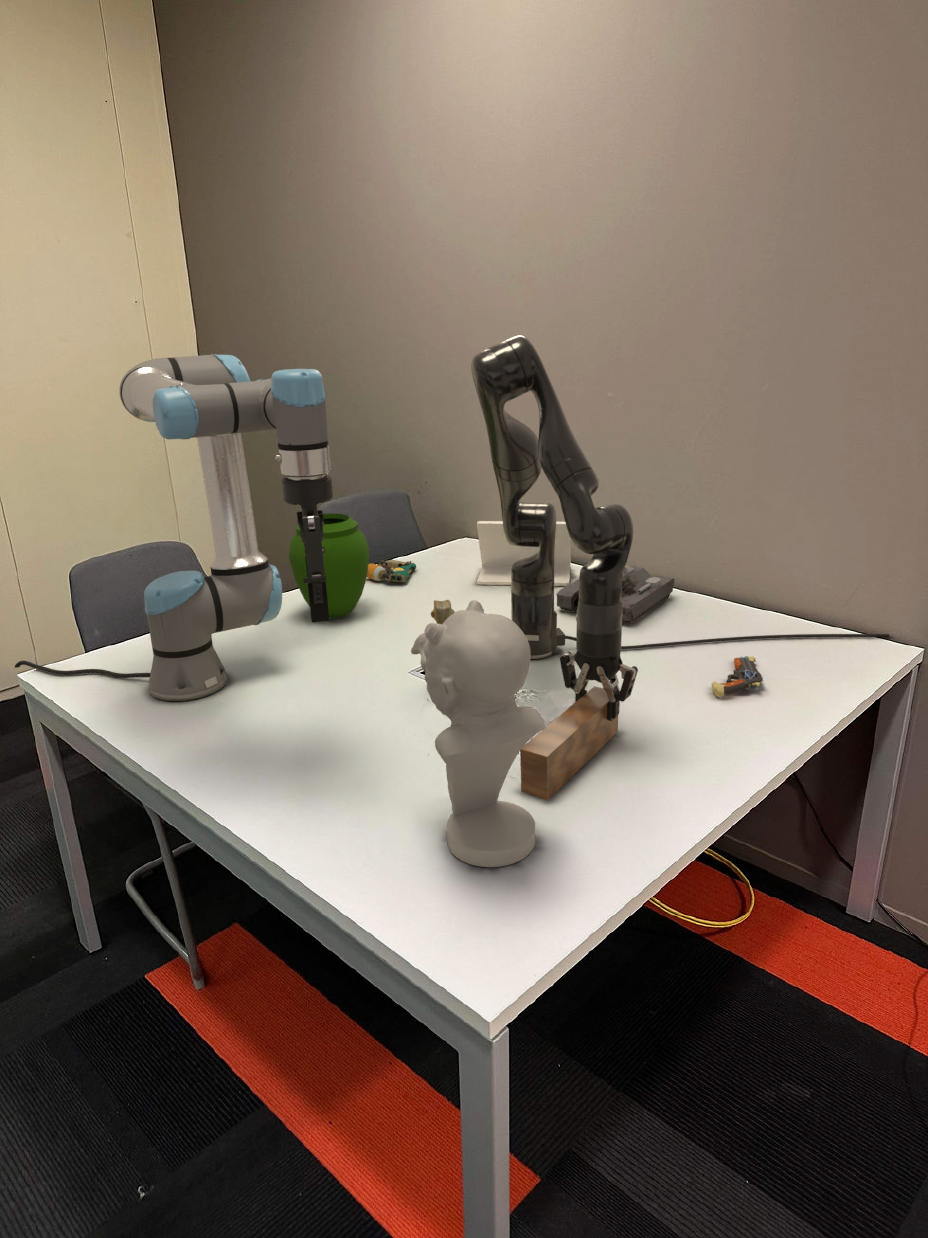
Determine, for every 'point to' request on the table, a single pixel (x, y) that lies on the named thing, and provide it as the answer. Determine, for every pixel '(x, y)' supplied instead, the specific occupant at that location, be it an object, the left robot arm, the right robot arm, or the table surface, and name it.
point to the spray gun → (390, 570)
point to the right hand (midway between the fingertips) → (596, 714)
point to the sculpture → (441, 611)
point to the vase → (336, 563)
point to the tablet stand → (517, 554)
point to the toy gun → (739, 677)
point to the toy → (627, 593)
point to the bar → (566, 744)
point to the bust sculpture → (481, 729)
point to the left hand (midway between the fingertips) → (318, 606)
